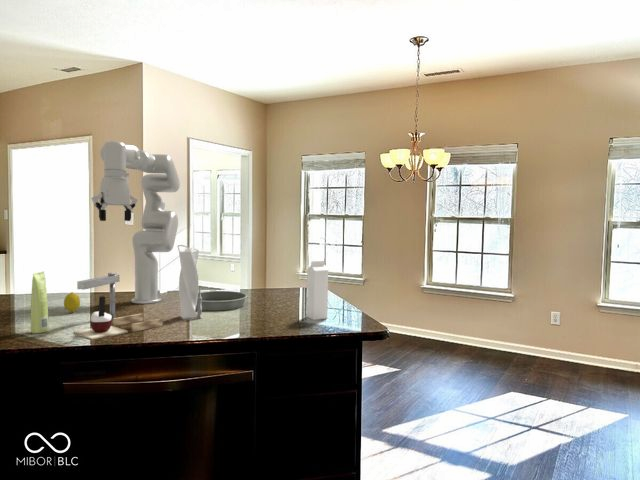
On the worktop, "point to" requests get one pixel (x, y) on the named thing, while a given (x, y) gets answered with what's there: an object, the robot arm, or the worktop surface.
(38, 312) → the tube
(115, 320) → the holder
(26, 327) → the worktop surface
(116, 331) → the pad
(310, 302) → the milk
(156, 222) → the robot arm
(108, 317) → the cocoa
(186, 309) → the skyscraper
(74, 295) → the lemon
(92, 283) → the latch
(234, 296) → the cake pan
